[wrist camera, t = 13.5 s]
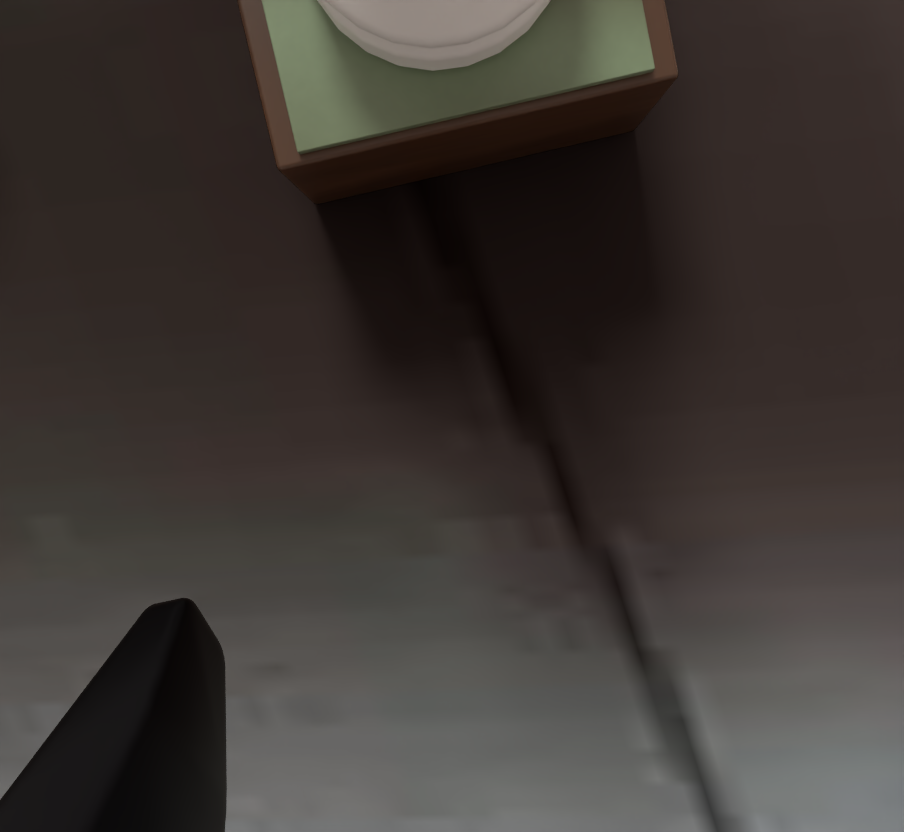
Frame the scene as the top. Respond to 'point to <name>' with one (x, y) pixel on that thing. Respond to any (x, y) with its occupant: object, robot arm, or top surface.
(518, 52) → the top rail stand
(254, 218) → the top surface
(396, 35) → the chess pawn
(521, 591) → the top surface
